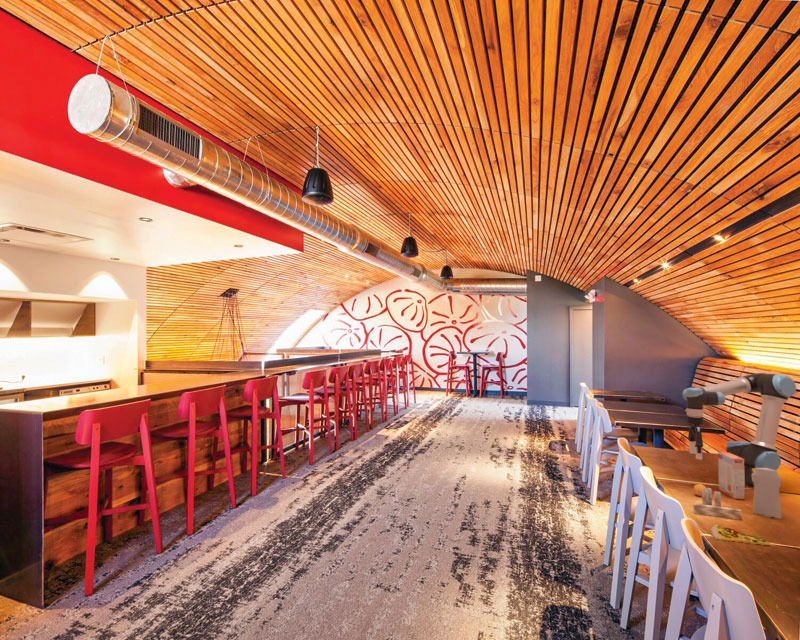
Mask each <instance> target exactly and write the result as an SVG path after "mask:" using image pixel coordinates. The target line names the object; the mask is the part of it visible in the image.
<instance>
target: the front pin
mask: <svg viewBox="0 0 800 640" xmlns="http://www.w3.org/2000/svg"><path fill="white" fill-rule="evenodd" d="M706 490H707V491H708V505H710V506H713V504H712V503H713V497H712V496H713V495H712V493H713V491H712V488H710V487H706Z"/></svg>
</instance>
